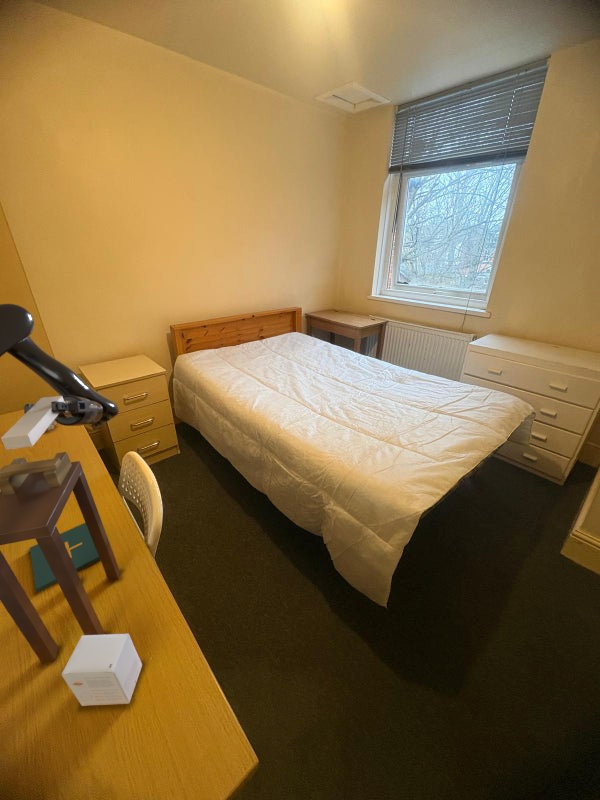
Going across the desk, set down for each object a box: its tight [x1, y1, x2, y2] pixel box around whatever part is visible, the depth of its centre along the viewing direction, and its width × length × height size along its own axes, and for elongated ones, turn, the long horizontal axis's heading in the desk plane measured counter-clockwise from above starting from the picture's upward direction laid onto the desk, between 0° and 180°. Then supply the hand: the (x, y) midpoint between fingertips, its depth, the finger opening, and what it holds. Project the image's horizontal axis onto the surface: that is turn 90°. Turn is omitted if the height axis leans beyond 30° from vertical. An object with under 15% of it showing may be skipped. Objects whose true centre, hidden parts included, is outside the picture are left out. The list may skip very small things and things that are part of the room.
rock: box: [43, 420, 57, 434], centre depth 130 cm, size 13×10×4 cm
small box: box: [60, 632, 143, 707], centre depth 53 cm, size 8×6×10 cm
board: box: [29, 522, 101, 593], centre depth 78 cm, size 14×14×1 cm
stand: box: [0, 451, 121, 665], centre depth 58 cm, size 10×16×36 cm, turn 17°
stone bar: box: [0, 395, 64, 451], centre depth 64 cm, size 4×17×2 cm, turn 16°
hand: (40, 407), depth 66 cm, fingers closed on stone bar, 4 cm apart
